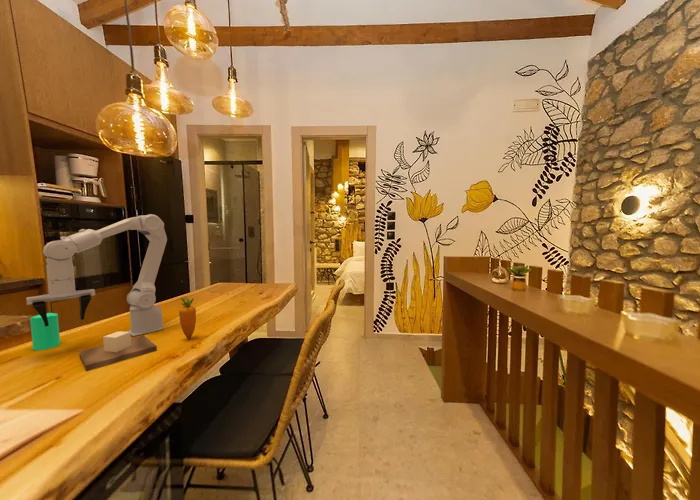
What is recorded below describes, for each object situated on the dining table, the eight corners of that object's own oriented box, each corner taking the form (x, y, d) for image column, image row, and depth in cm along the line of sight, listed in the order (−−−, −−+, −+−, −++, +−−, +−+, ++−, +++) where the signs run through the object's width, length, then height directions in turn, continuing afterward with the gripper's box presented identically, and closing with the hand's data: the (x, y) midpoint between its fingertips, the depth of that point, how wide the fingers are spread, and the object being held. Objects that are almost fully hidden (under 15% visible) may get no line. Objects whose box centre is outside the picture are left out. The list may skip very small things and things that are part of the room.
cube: (119, 345, 86) (118, 331, 86) (131, 345, 85) (130, 332, 85) (104, 351, 81) (103, 336, 81) (116, 352, 81) (115, 337, 80)
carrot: (200, 337, 95) (198, 295, 94) (188, 342, 91) (185, 298, 90) (190, 335, 97) (187, 294, 96) (177, 340, 92) (174, 297, 91)
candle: (41, 351, 86) (38, 314, 85) (27, 349, 87) (24, 313, 86) (65, 343, 92) (62, 308, 91) (51, 342, 93) (48, 307, 92)
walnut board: (144, 339, 94) (144, 335, 94) (156, 350, 85) (156, 345, 85) (79, 356, 82) (79, 351, 82) (86, 371, 73) (85, 365, 73)
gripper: (91, 275, 92) (94, 314, 93) (24, 281, 81) (29, 325, 82) (94, 277, 87) (98, 318, 88) (24, 284, 76) (29, 331, 77)
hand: (65, 322), depth 85 cm, fingers open, 7 cm apart
